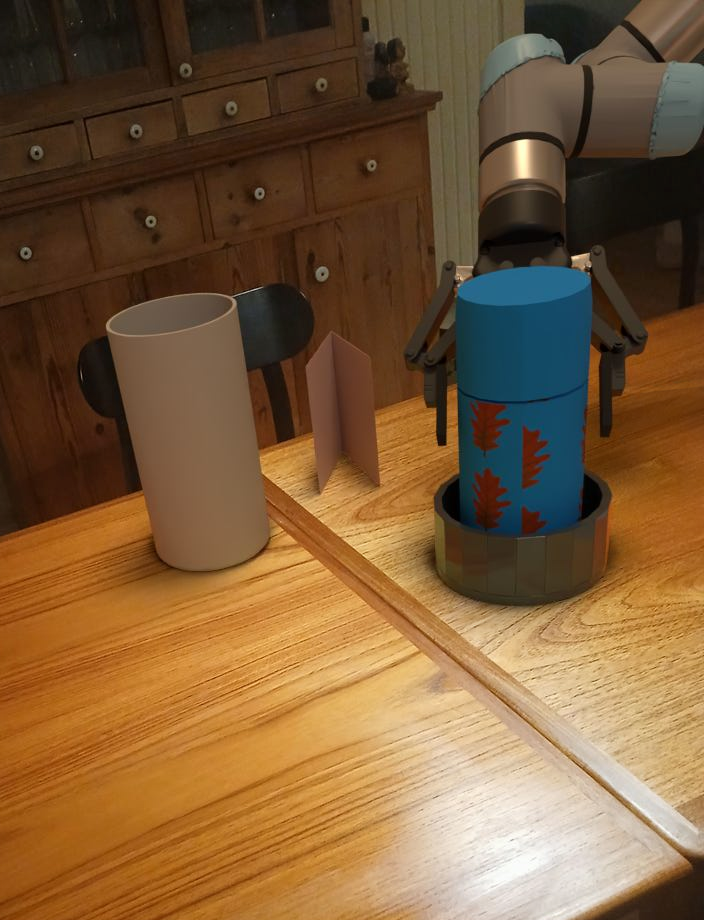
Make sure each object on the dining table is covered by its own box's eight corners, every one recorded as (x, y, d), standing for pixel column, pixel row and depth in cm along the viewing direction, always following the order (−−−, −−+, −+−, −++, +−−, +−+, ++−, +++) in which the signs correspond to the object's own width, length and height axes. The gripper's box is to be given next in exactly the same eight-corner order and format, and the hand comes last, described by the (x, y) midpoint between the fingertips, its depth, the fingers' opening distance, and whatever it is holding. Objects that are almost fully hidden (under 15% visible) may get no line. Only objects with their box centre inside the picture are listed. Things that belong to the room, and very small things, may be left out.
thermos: (511, 514, 100) (512, 260, 86) (603, 545, 92) (621, 272, 78) (437, 557, 95) (426, 296, 81) (528, 594, 88) (534, 313, 74)
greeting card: (335, 451, 121) (323, 331, 113) (395, 451, 119) (387, 327, 111) (312, 494, 113) (297, 367, 104) (376, 494, 110) (366, 364, 102)
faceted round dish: (590, 516, 99) (594, 452, 95) (622, 600, 86) (627, 530, 82) (432, 528, 102) (429, 467, 98) (440, 611, 89) (438, 544, 85)
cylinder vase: (167, 586, 101) (114, 346, 87) (149, 533, 111) (99, 311, 97) (284, 556, 102) (249, 315, 88) (256, 507, 112) (221, 284, 98)
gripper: (665, 218, 88) (672, 443, 85) (386, 248, 95) (381, 458, 92) (679, 166, 81) (687, 409, 78) (376, 203, 88) (371, 428, 85)
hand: (521, 436), depth 85 cm, fingers open, 13 cm apart
